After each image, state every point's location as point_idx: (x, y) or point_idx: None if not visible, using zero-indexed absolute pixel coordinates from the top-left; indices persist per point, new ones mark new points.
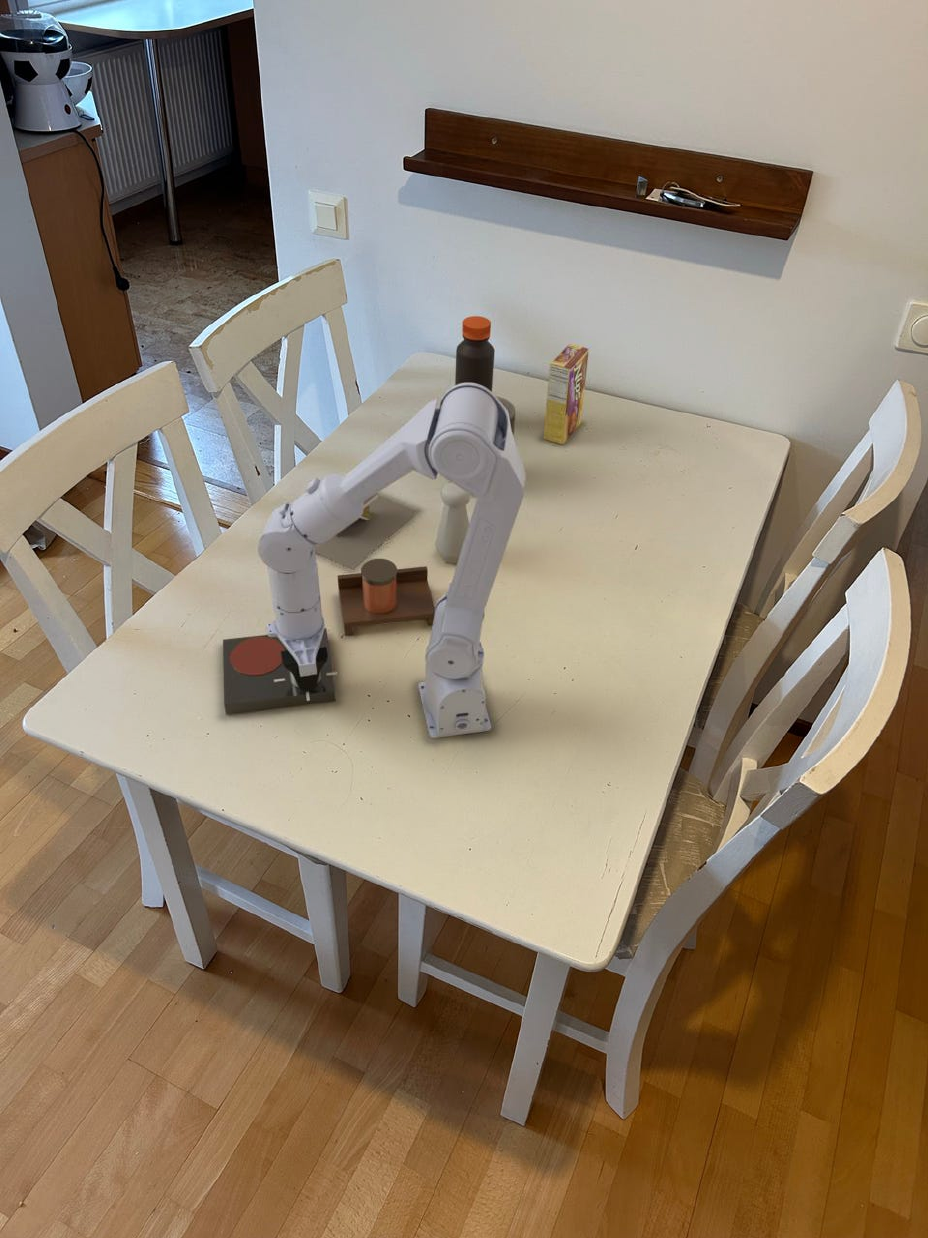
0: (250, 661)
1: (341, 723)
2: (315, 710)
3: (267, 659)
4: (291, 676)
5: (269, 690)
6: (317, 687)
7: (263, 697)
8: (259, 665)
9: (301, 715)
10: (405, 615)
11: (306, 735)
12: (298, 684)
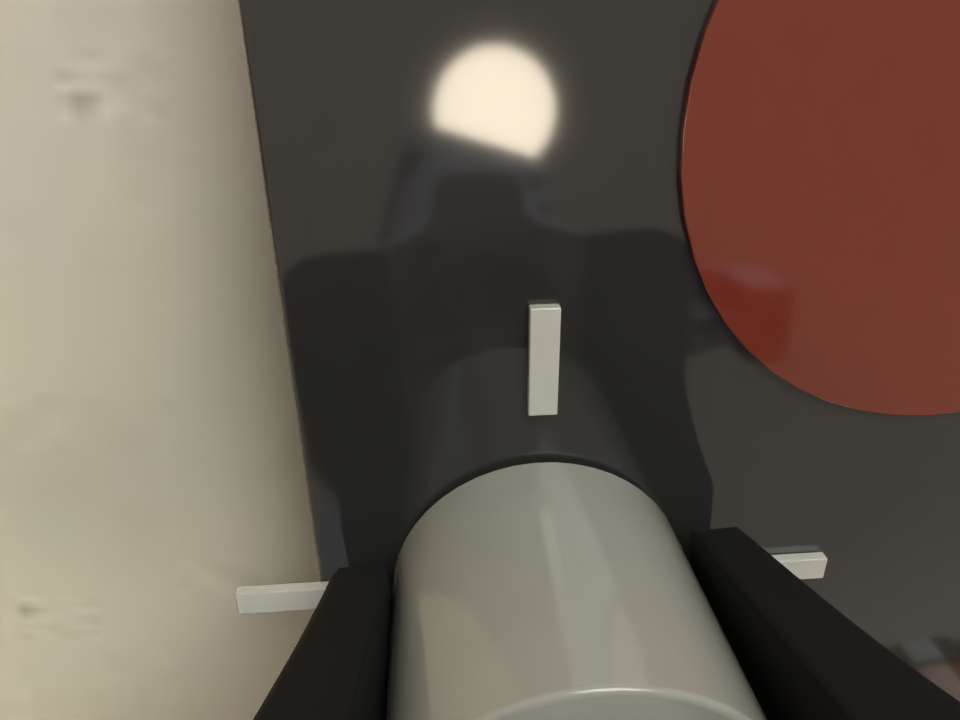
0: (955, 23)
1: (147, 683)
2: (277, 541)
3: (900, 240)
4: (479, 549)
5: (408, 253)
6: None
7: (300, 181)
8: (841, 143)
9: (225, 450)
10: None
11: (5, 481)
12: (298, 647)
